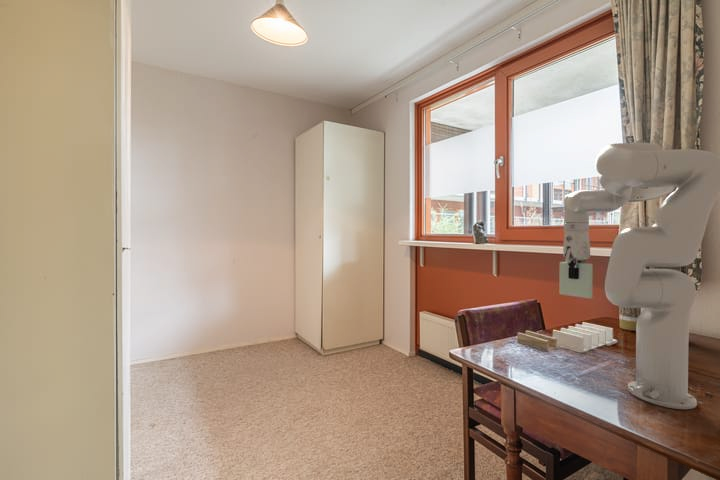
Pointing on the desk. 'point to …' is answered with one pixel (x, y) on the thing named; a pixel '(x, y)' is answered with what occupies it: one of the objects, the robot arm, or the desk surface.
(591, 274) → the plate
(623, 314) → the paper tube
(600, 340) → the dish rack
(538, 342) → the plate stand
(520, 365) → the desk surface
